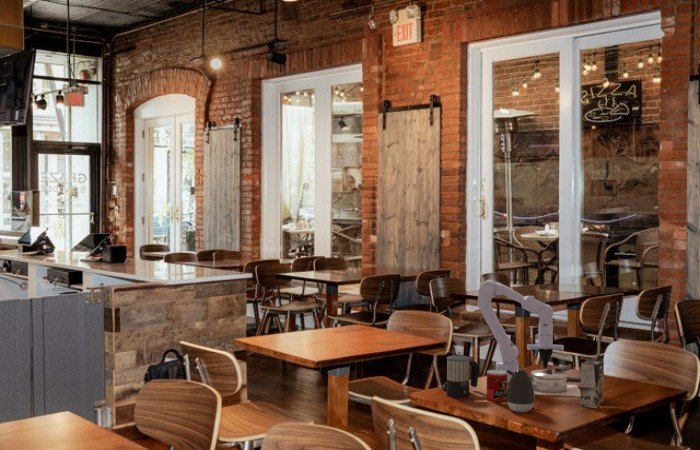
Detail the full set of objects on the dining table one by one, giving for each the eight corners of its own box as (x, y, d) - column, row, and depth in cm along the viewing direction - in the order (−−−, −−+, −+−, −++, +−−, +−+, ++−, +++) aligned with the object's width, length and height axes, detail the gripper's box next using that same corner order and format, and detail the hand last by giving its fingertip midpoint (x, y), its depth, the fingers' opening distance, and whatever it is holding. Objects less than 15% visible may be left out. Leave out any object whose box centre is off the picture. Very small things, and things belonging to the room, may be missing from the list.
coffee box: (596, 408, 303) (597, 365, 303) (579, 406, 307) (580, 363, 306) (603, 403, 311) (604, 361, 311) (586, 401, 315) (587, 359, 314)
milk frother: (460, 399, 315) (461, 360, 315) (427, 392, 326) (428, 355, 325) (481, 393, 326) (482, 355, 325) (448, 386, 336) (449, 350, 336)
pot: (524, 391, 324) (525, 378, 324) (522, 384, 338) (523, 370, 338) (590, 395, 321) (590, 380, 320) (585, 387, 334) (585, 373, 334)
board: (530, 396, 321) (530, 393, 321) (526, 385, 341) (527, 382, 341) (583, 399, 318) (583, 396, 318) (576, 387, 338) (576, 385, 338)
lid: (556, 380, 319) (556, 374, 319) (523, 375, 329) (523, 369, 329) (584, 372, 336) (584, 366, 336) (552, 367, 346) (552, 361, 346)
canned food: (494, 403, 309) (495, 374, 309) (482, 399, 316) (482, 370, 316) (511, 401, 312) (511, 372, 312) (498, 397, 320) (498, 368, 319)
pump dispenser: (508, 405, 306) (509, 365, 305) (536, 409, 302) (537, 367, 301) (502, 412, 297) (503, 370, 296) (531, 415, 293) (532, 372, 292)
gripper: (529, 335, 336) (528, 368, 336) (565, 336, 335) (564, 369, 335) (526, 332, 343) (526, 365, 343) (562, 333, 342) (561, 366, 342)
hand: (545, 367), depth 340 cm, fingers closed
